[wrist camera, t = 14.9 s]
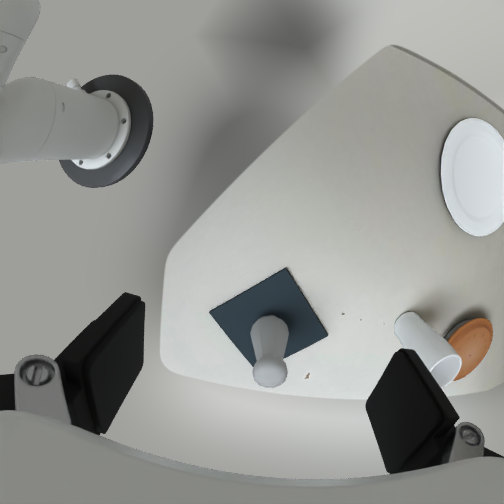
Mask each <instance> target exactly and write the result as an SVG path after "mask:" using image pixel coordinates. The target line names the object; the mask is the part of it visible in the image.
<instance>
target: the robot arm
mask: <svg viewBox="0 0 504 504" xmlns="http://www.w3.org/2000/svg"><path fill="white" fill-rule="evenodd" d="M39 14H40V3H39V1H38V0H0V163H8V162H19V161H38V160H72V161H73V162H74V163H75V164H76V165H77V166H79V167H81V168H84V169H99V168H102V167H105V166H107V165H108V164H110V163H111V162H112V161H114V160H115V159H116V158H117V157H118V155H119V154H120V153H121V152H122V150H123V148H124V147H125V145H126V143H127V140H128V138H129V134H130V129H131V114H130V110H129V107H128V105H127V103H126V101H125V100H124V99H123V98H122V97H121V96H120V95H118V94H116V93H114V92H112V91H108V90H100V91H95V92H93V93H90V94H88V93H86V91H85V90H82V89H81V86H80V84H79V82H78V80H77V79H72V80H70V81H69V82H68V83H67V87H66V86H63V85H60V84H56V83H54V82H50V81H46V80H44V79H40V78H36V77H26V78H21V79H17V80H15V81H12V82H10V83H7V84H5V83H6V81H7V79H8V76H9V74H10V72H11V70H12V68H13V66H14V64H15V61H16V59H17V57H18V55H19V54H20V52H21V50H22V48H23V46H24V44H25V42H26V40H27V39H28V37H29V35H30V33H31V31H32V29H33V28H34V26H35V24H36V22H37V19H38V17H39ZM125 121H126V123H125ZM144 320H145V303H144V302H142V301H141V298H140V296H136V295H133V294H130V293H126V292H125V293H123V294H122V295H121V296H120V297H119V298H118V299H117V300H116V301H115V302H114V303H113V304H112V305H111V306H110V307H109V308H108V309H107V310H106V311H105V312H103V313H102V315H101V316H99V317H98V318H97V319H96V320H94V321H93V322H91V323H90V324H89V325H88V326H87V327H86V328H85V329H84V330H83V331H82V332H81V333H80V334H79V335H78V336H77V337H76V338H75V339H74V340H73V341H72V342H71V343H70V344H69V345H68V346H67V347H66V348H65V349H64V350H63V351H62V353H61V354H60V355H59V356H58V357H57V358H56V359H55V360H53V359H51V358H50V357H47V356H44V355H30V356H27V357H25V358H23V359H22V360H20V361H19V362H18V364H17V365H16V367H15V373H14V374H7V375H0V504H504V457H503V456H501V455H499V454H497V453H495V452H493V451H491V450H489V449H487V448H485V447H484V436H483V433H482V432H481V430H480V429H479V428H478V427H477V426H476V425H474V424H472V423H469V422H462V423H460V424H459V425H458V426H457V427H456V428H455V426H454V424H455V423H456V422H457V420H458V419H459V416H458V414H457V412H456V411H455V409H454V408H453V406H452V404H451V403H450V401H449V400H448V398H447V397H446V395H445V394H444V392H443V391H442V389H441V387H440V386H439V384H438V383H437V382H436V380H435V379H434V377H433V376H432V374H431V373H430V371H429V370H428V368H427V367H426V365H425V364H424V363H423V361H422V360H421V358H420V357H419V355H418V354H417V353H416V351H415V350H413V349H404V348H401V349H399V350H398V352H395V353H394V355H393V357H392V358H391V360H390V362H389V364H388V366H387V368H386V369H385V371H384V373H383V375H382V376H381V378H380V380H379V382H378V383H377V385H376V387H375V388H374V390H373V392H372V393H371V395H370V396H369V398H368V400H367V402H366V411H367V414H368V417H369V419H370V422H371V425H372V428H373V431H374V434H375V437H376V440H377V443H378V446H379V449H380V452H381V455H382V458H383V461H384V464H385V468H386V470H387V472H388V473H390V474H389V475H381V476H372V477H362V478H348V479H286V478H272V477H261V476H252V475H243V474H237V473H230V472H224V471H218V470H213V469H208V468H203V467H199V466H194V465H190V464H186V463H181V462H178V461H174V460H170V459H166V458H163V457H160V456H156V455H153V454H150V453H146V452H143V451H140V450H137V449H134V448H131V447H128V446H126V445H123V444H120V443H117V442H114V441H112V440H110V439H107V438H104V437H102V436H99V435H100V433H103V434H105V433H106V432H107V430H108V428H109V427H110V425H111V423H112V421H113V419H114V417H115V415H116V413H117V412H118V410H119V408H120V406H121V404H122V403H123V401H124V399H125V397H126V396H127V394H128V392H129V390H130V388H131V387H132V385H133V383H134V381H135V380H136V378H137V376H138V374H139V372H140V371H141V369H142V366H143V358H144V357H143V355H144Z"/></svg>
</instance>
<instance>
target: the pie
mask: <svg viewBox="0 0 504 504" xmlns="http://www.w3.org/2000/svg"><path fill="white" fill-rule="evenodd" d="M492 336H493V329H492V324H491V323H490V321H489V320H487V319H485V318H476V319H472V320H465V321H463V322H460V323H459V324H457V325H456V326H454V327H453V328H452V329H451V330H450V331H449V333H448V334H447V335H446V337H445V338H444V339H445V340H447V341H448V342H449V343H450V345H451V346H452V347H453V348H454V349H455V350H456V352H457V353H458V354H459V356H460V357H461V360H462V365H461V368H460V371H459V373H458V374H457V376H456V377H455V378H454V379H453V381H456V380H459V379H461V378H463V377H465V376H466V375H467V374H469V373H470V372H471V371H472V370H473V369H474V368H475V367H476V366H477V365H478V364H479V363H480V362H481V361H482V359H483V358H484V356H485V355H486V353H487V351H488V349H489V347H490V344H491V341H492Z"/></svg>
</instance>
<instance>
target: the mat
mask: <svg viewBox="0 0 504 504" xmlns="http://www.w3.org/2000/svg"><path fill="white" fill-rule="evenodd" d="M209 313H210V314H211V315H212V317H213V318H214V319H215V321H216V322H217V323H218V324H219V326H220V327H221V328H222V329H223V331H224V332H225V333H226V335H227V336H228V337H229V338H230V339H231V341H232V342H233V343H234V344H235V346H236V347H237V348H238V349H239V351H240V352H241V353H242V354H243V355H244V357H245V358H246V359H247V360H248V361H249V363H250V364H251V365H252V366H253V367H254V365H255V363H256V362H257V360H256V355H255V351H254V347H253V343H252V339H251V334H250V333H251V329H252V326H253V324H254V323H255V322H256V321H257V320H258V319H259V318H261V317H263V316H268V315H274V316H276V317H277V318H279V319H282V320H283V321H284V322H285V324H286V325H287V327H288V332H289V336H288V340H287V345H286V349H285V353H284V357H283V359H284V358H286V357H288V356H290V355H292V354H294V353H296V352H298V351H300V350H302V349H304V348H306V347H308V346H310V345H312V344H314V343H316V342H318V341H320V340H321V339H323V338H325V337H327V336H328V334H327V332H326V331H325V329H324V328H323V326H322V324H321V323H320V321H319V320H318V318H317V316H316V315H315V313H314V312H313V310H312V308H311V307H310V305H309V304H308V302H307V300H306V299H305V297H304V296H303V294H302V292H301V291H300V289H299V288H298V286H297V285H296V283H295V281H294V280H293V278H292V277H291V275H290V274H289V272H288V270H287V269H286V268H284V269H282V270H281V271H279V272H277V273H276V274H274V275H272V276H270V277H269V278H267V279H265V280H264V281H262V282H260V283H258V284H257V285H255V286H253V287H251V288H250V289H248V290H246V291H244V292H243V293H241V294H239V295H237V296H236V297H234V298H232V299H230V300H229V301H227V302H225V303H223V304H222V305H220V306H218V307H216V308H214V309H213V310H211V311H210V312H209Z"/></svg>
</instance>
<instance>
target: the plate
mask: <svg viewBox="0 0 504 504" xmlns="http://www.w3.org/2000/svg"><path fill="white" fill-rule="evenodd" d="M440 177H441V185H442V192H443V196H444V199H445V203H446V206H447V208H448V210H449V212H450V214H451V216H452V218H453V220H454V221H455V222H456V223H457V225H458V226H459V227H460V228H461V229H462V230H464V231H465V232H467V233H469V234H470V235H473V236H480V237H482V236H485V235H489V234H491V233H493V232H494V231H495V230H497V229H498V228H499V227H500V226H501V225H502V223H503V222H504V140H503V138H502V137H501V135H500V134H499V133H498V131H497V130H496V129H495V128H494V127H492V126H491V125H490V124H489V123H487V122H485V121H483V120H481V119H477V118H468V119H465V120H463V121H460V122H458V124H457V125H455V126H454V127H453V128H452V129H451V131H450V133H449V135H448V137H447V139H446V141H445V143H444V147H443V151H442V155H441V168H440Z"/></svg>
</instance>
